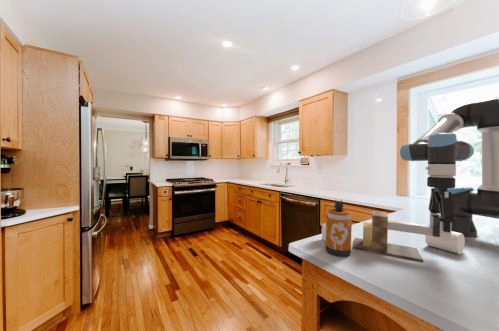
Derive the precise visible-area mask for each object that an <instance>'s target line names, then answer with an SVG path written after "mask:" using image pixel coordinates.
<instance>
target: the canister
mask: <svg viewBox="0 0 499 331" xmlns="http://www.w3.org/2000/svg"><path fill="white" fill-rule="evenodd" d="M343 207H344V202H343V199H341V200H337V199H335V202H334V205H332V206H329V207H328V211H327V214H328V217H327V216H326V221H325V223H326V241H325V250H326V251H327V252H328V253H331V254H332V255H334V256H340V257H342V256H349V255H351V254H352V226H353V224H352V223H353V222H352V219H351V213H350V212H349V211H348V210H346V209H343Z"/></svg>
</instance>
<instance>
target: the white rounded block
mask: <svg viewBox="0 0 499 331" xmlns="http://www.w3.org/2000/svg"><path fill="white" fill-rule="evenodd" d="M424 237H425V244H426V246H428V247H433V248H435V249H439V250H443V251H445V252H446V251H447V252H449V253H454V254H458V255H461V254H462V253H463V252H464V249H465V243H466V242H465V237H464V235H463V234H462V233H458V232H453V231H451V242H446V241H440V237H434V236H430V235H424Z"/></svg>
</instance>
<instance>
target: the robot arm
mask: <svg viewBox="0 0 499 331" xmlns="http://www.w3.org/2000/svg"><path fill="white" fill-rule="evenodd" d="M471 127H476V130H477V131H478V132H480V133H481V185H479V186H478V187H477V189H476V190H475V189H474V187H472V186H471V187H468V186H466V187H456V178H455V176H457V173H456V172H457V165H456V164H457V163H456V162H462V161H466V160H468V159H470V158H471V157H472V156H473V155H474V151H475V150H474V146H473V145H472V144H471V143H469V142H466V141H463V140H458V139H457V134H456V133H454V132H457V131H459V130H461V129H465V128H471ZM399 155H400V158H401V160H403V161H404V162H405V161H407V162H423V161H425V162H427V166H426V167H425V170H427V176H428V177H427V178H426V180H427V181H426V186H427V187H429V188H431V189H430V197H429V198H430V199H429V203H428V210H429V224H430V223H431V215H439V216H441V219H439V221H440V241H446V242H451V231H453V232H458V233H462V234H463V235H464V238H465V237H466V238H476V237H478V230H477V228H476V224H475V222H474V220H473V215H474V216H480V217H485V218H493V219H497V220H499V96H496V97H491V98H486V99H482V100H477V101H476V100H475V101H471V102H466V103H462V104H460V105H458V106H456V107H453V108H452V109H450V110H449V111H447V112H445V113H444V114H443V115H441V116H440V117H439V118H438V120H437V122H436V123H435V124H434V125H433V126H432V127H431V128H429V130H428V131H426V132H425V133H423V135H421V136H420V137H419V138H418V139H416V141H414V142H412V143H407V144H403V145H401V146H400V148H399Z"/></svg>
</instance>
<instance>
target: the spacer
mask: <svg viewBox="0 0 499 331" xmlns="http://www.w3.org/2000/svg"><path fill="white" fill-rule="evenodd" d="M362 227H363V228H362V239H363V247H368V248H371V247H372V222H366V221H365V222H363V226H362Z"/></svg>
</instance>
